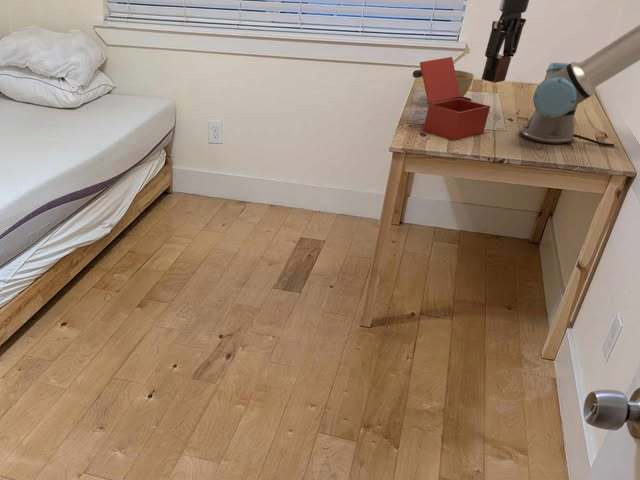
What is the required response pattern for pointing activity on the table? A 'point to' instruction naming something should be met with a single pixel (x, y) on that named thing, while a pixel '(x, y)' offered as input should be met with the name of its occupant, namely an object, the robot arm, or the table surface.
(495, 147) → the table surface
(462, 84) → the planter bowl
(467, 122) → the chest
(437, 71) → the lid
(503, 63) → the block
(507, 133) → the table surface
